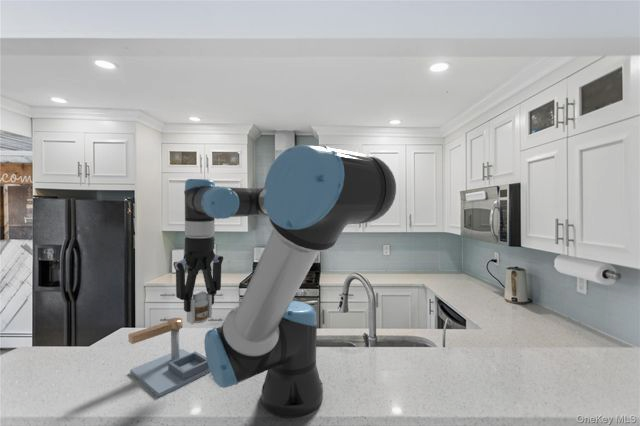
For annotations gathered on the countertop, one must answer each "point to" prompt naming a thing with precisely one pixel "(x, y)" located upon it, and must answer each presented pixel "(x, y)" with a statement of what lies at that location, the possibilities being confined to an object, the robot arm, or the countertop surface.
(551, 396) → the countertop surface
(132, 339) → the lever
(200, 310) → the pill bottle
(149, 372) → the board
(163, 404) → the countertop surface
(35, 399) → the countertop surface
